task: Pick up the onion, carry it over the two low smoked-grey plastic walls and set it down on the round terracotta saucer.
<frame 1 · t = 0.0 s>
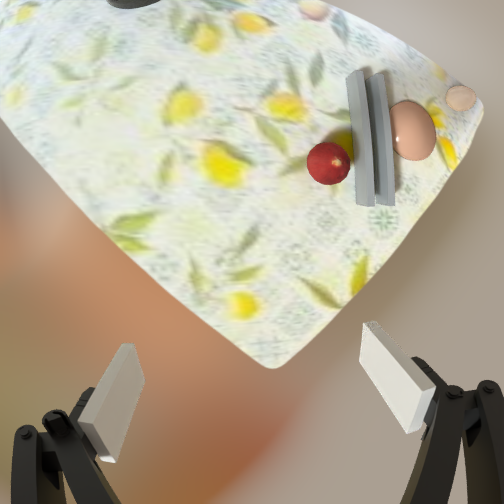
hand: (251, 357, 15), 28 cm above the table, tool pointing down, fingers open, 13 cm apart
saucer: (410, 131, 40), on the table
wall 1: (356, 138, 40), on the table
wall 2: (375, 139, 40), on the table
onion: (320, 164, 41), on the table
egg: (448, 101, 39), on the table
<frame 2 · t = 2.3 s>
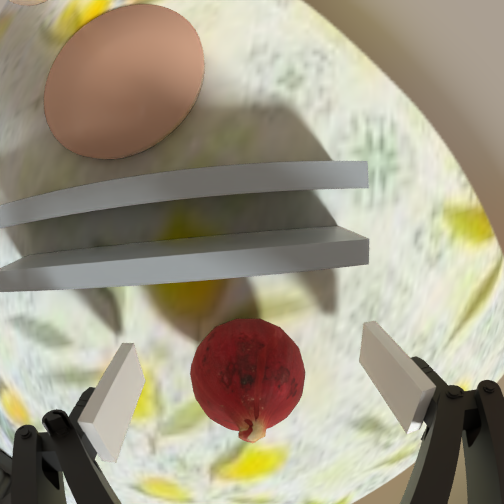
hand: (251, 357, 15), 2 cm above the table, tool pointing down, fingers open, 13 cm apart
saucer: (120, 78, 13), on the table
wall 1: (164, 250, 16), on the table
wall 2: (157, 188, 15), on the table
onion: (243, 337, 18), on the table
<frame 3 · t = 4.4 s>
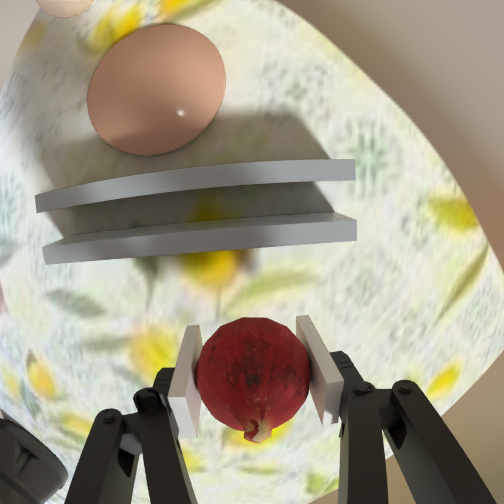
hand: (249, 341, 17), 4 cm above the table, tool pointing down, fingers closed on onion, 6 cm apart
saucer: (155, 87, 17), on the table
wall 1: (192, 230, 20), on the table
wall 2: (187, 179, 19), on the table
onion: (249, 336, 18), point 4 cm above the table, touching gripper
egg: (84, 7, 15), on the table
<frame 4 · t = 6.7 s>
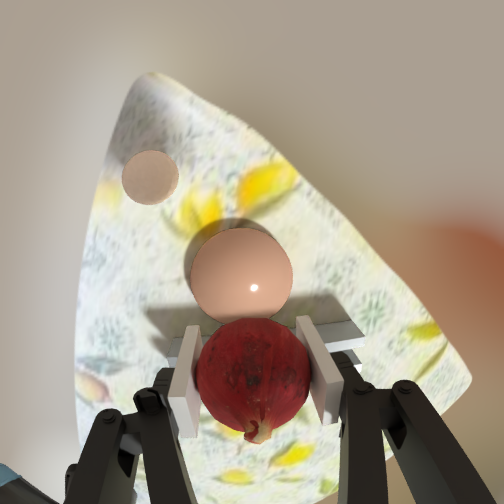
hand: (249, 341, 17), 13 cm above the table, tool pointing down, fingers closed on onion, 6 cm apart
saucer: (241, 277, 29), on the table
wall 2: (265, 336, 31), on the table
onion: (249, 336, 18), point 12 cm above the table, touching gripper
egg: (160, 177, 27), on the table
when the fingers open (1 cm above the table, at t = 9.3 s): onion stays where it is, resting on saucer.
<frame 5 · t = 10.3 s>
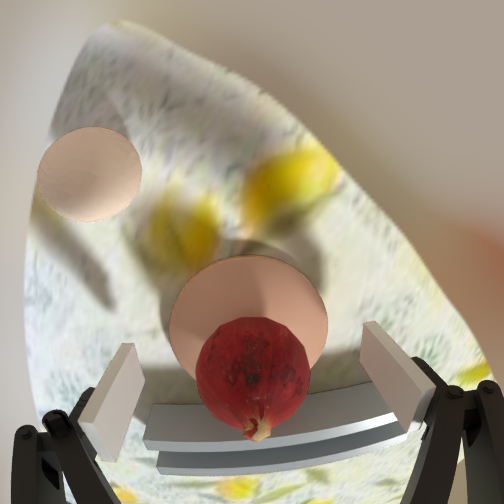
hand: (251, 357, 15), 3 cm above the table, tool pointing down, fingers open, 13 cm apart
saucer: (248, 329, 19), on the table
wall 1: (281, 431, 21), on the table
wall 2: (281, 403, 20), on the table
onion: (248, 336, 18), point 1 cm above the table, touching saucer
egg: (120, 175, 16), on the table
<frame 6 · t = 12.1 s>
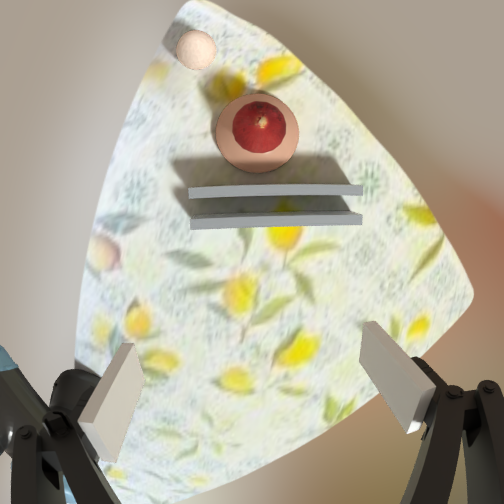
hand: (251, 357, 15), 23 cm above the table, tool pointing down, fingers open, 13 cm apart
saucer: (257, 133, 34), on the table
wall 1: (275, 216, 37), on the table
wall 2: (274, 188, 36), on the table
onion: (257, 132, 33), point 1 cm above the table, touching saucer
egg: (200, 61, 31), on the table
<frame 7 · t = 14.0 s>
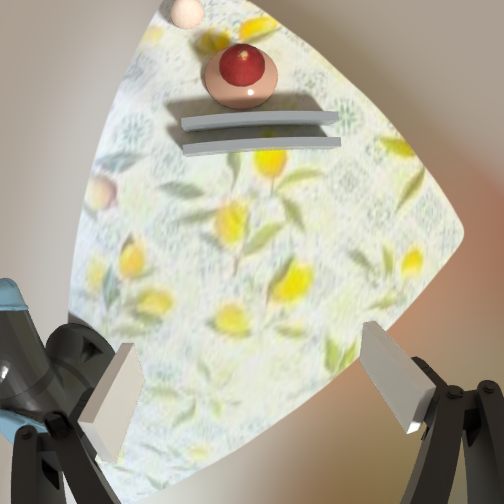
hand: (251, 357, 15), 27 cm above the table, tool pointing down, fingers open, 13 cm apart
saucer: (241, 77, 36), on the table
wall 1: (260, 146, 38), on the table
wall 2: (259, 122, 37), on the table
onion: (241, 75, 35), point 1 cm above the table, touching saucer
egg: (190, 24, 33), on the table
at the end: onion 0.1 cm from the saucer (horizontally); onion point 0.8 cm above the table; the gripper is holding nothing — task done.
